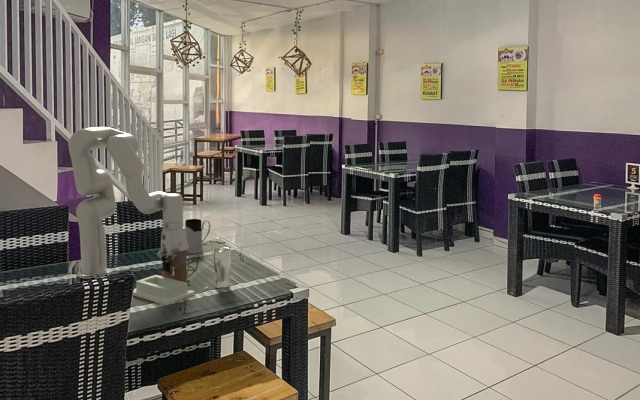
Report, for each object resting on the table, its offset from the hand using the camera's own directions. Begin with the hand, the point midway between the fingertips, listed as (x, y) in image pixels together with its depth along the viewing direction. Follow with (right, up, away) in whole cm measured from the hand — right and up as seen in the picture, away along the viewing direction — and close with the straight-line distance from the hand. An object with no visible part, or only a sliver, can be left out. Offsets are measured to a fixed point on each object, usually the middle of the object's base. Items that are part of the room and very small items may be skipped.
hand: (173, 268), depth 217 cm
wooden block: (0, -6, +1) cm, 6 cm away
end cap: (-1, -8, -12) cm, 15 cm away
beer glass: (+19, -7, -1) cm, 21 cm away
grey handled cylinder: (-1, +3, +49) cm, 49 cm away
